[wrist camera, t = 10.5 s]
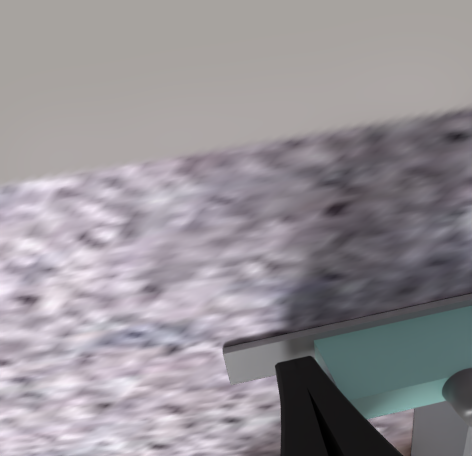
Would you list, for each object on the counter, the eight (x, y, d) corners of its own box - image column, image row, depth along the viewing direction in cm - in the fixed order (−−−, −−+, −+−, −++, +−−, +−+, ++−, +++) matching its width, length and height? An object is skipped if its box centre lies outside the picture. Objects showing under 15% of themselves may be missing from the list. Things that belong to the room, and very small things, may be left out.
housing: (660, 252, 11) (777, 285, 9) (584, 432, 15) (653, 488, 13) (222, 348, 11) (227, 410, 8) (262, 511, 15) (274, 584, 12)
